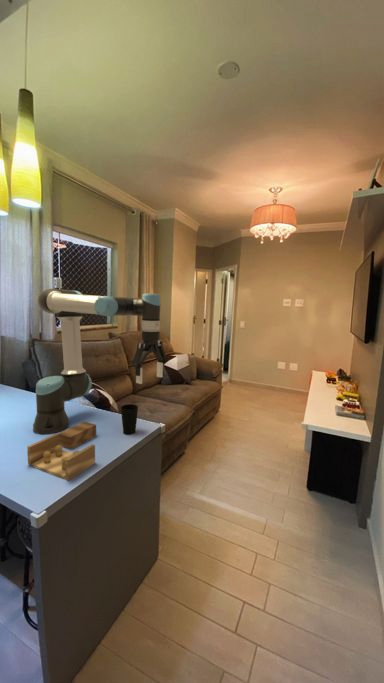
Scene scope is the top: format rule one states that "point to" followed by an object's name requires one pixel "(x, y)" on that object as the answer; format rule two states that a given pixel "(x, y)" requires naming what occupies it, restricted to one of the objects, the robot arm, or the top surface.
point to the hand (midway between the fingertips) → (149, 380)
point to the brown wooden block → (77, 435)
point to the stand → (59, 458)
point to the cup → (129, 418)
